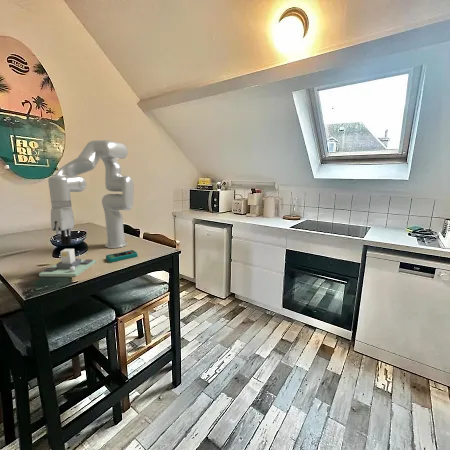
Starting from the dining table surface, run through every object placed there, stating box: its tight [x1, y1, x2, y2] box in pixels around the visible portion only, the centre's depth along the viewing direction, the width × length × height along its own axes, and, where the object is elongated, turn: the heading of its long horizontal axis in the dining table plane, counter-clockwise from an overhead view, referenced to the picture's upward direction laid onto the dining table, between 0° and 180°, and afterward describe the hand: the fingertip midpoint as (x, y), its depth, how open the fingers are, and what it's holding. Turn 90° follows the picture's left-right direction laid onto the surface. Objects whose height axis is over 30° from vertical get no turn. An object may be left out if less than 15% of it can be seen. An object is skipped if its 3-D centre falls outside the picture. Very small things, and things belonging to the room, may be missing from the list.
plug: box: [60, 248, 76, 263], centre depth 118 cm, size 5×4×8 cm
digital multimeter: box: [105, 249, 138, 264], centre depth 135 cm, size 7×15×3 cm, turn 131°
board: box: [38, 258, 97, 278], centre depth 119 cm, size 18×16×4 cm
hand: (66, 244), depth 117 cm, fingers closed
